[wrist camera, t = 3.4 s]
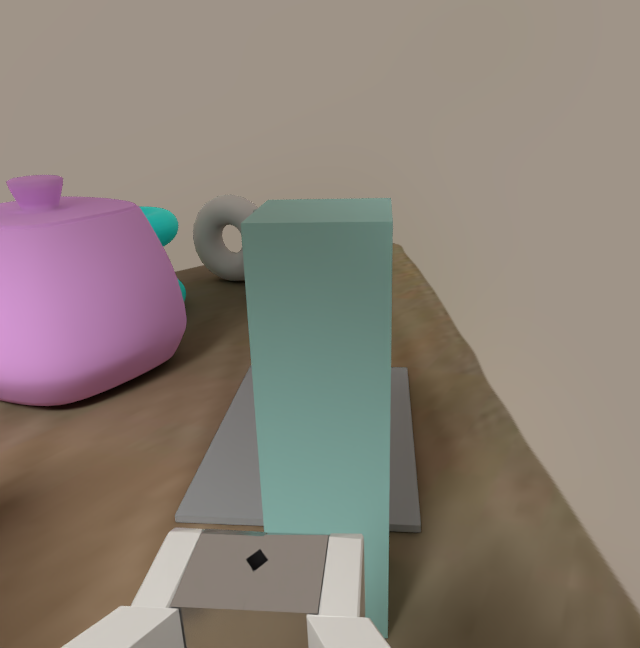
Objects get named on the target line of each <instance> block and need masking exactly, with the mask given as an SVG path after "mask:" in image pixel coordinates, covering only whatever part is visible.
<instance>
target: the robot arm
mask: <svg viewBox="0 0 640 648" xmlns="http://www.w3.org/2000/svg"><path fill="white" fill-rule="evenodd" d="M61 648H391V647H390V645H389V644H388V643H387V641H386V640H385V638H384V637H383V636H382V634H381V633H380V631H379V630H378V629H377V627H376V626H375V625H374V623H373V622H372V620H371V619H370V618H365V564H364V536H363V535H362V534H351V533H331V534H302V533H267V532H254V531H236V530H218V529H205V530H204V529H192V528H174V529H173V530H171V531H170V532H169V533H168V534H167V536H166V538H165V540H164V542H163V544H162V546H161V548H160V550H159V552H158V554H157V556H156V557H155V559H154V561H153V563H152V565H151V567H150V569H149V571H148V573H147V575H146V577H145V579H144V581H143V583H142V585H141V587H140V589H139V591H138V592H137V594H136V596H135V598H134V600H133V602H132V604H131V606H120V607H119V608H117V609H116V610H114V611H113V612H111V613H110V614H108V615H107V616H106V617H104V618H103V619H101V620H100V621H98V622H97V623H96V624H94V625H93V626H91V627H90V628H88V629H87V630H86V631H84V632H83V633H81V634H80V635H78V636H77V637H75V638H74V639H73V640H71V641H70V642H68V643H67V644H65V645H64V646H63V647H61Z"/></svg>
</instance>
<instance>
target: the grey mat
mask: <svg viewBox="0 0 640 648" xmlns="http://www.w3.org/2000/svg"><path fill="white" fill-rule="evenodd" d="M175 520H176V522H185V523H209V524H233V525H257V526H264V523H263V510H262V497H261V484H260V470H259V457H258V444H257V431H256V418H255V405H254V392H253V379H252V366H250V368H249V370H248V372H247V374H246V375H245V377H244V379H243V381H242V383H241V385H240V387H239V389H238V391H237V393H236V395H235V397H234V399H233V401H232V403H231V405H230V407H229V409H228V411H227V413H226V415H225V417H224V419H223V421H222V423H221V425H220V427H219V429H218V431H217V433H216V435H215V437H214V439H213V441H212V443H211V445H210V447H209V449H208V451H207V453H206V455H205V457H204V459H203V461H202V463H201V465H200V467H199V469H198V471H197V473H196V475H195V477H194V479H193V480H192V482H191V484H190V486H189V488H188V490H187V492H186V494H185V496H184V498H183V500H182V502H181V504H180V506H179V508H178V510H177V512H176V514H175ZM389 531H399V532H421V520H420V509H419V497H418V486H417V474H416V463H415V451H414V440H413V428H412V417H411V405H410V394H409V382H408V371H407V368H403V367H391V404H390V489H389Z"/></svg>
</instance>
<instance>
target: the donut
mask: <svg viewBox="0 0 640 648" xmlns="http://www.w3.org/2000/svg"><path fill="white" fill-rule="evenodd" d="M255 209H258V207H257V206H256V205H255V204H254V203H252V202H250V201H249V200H247V199H245V198H244V197H240V196H235V195H224V196H217V197H216V198H214V199H212V200H211V201H209V202H207V203H206V204H205V205H204V206H203V207H202V209H201V210H200V211H199V212H198V215H197V218H196V221H195V223H194V230H193V239H194V244H195V248H196V252H197V253H198V255H199V257H200V259H201V261H202V263H203V264H204V265H205V266H206V267H207V268H208V269H209V270H210V271H211V272H212V273H214V274H215V275H217V276H219V277H220V278H223V279H226V280H230V281H243V280H245V275H244V262H243V248H242V249H241V250H240V251H239V252H238V253H235V252H231V251H230V250H228V248H227V247H226V246H225V244H224V242H223V239H222V231H223V228H224V227H225V226H226V225H229V224H230V225H233V226H235V227H237V229H238V230H239V231H240V233H241V223H242V222H243V221H244V220H245V219H246V218H247V217H249V216H250V215H251V214H252V213H253V210H255Z"/></svg>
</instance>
